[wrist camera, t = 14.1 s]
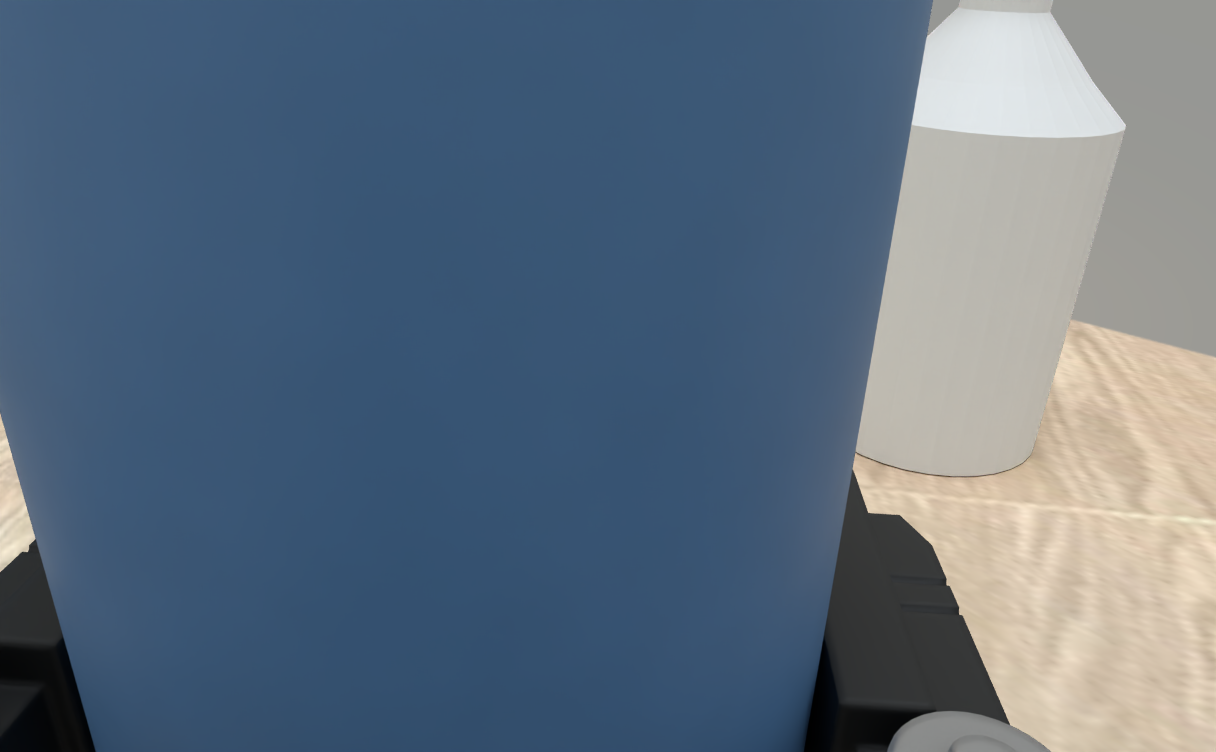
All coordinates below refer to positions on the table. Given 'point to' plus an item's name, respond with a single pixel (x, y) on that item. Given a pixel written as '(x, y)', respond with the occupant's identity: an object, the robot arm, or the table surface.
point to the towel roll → (445, 359)
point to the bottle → (986, 241)
